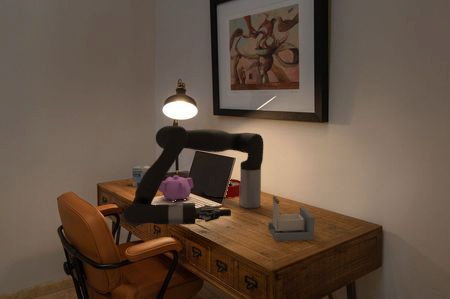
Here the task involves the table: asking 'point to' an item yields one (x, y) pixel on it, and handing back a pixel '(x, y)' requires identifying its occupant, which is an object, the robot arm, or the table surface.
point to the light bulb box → (138, 174)
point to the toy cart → (286, 220)
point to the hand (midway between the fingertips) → (230, 212)
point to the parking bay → (295, 235)
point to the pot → (176, 187)
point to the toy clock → (233, 188)
